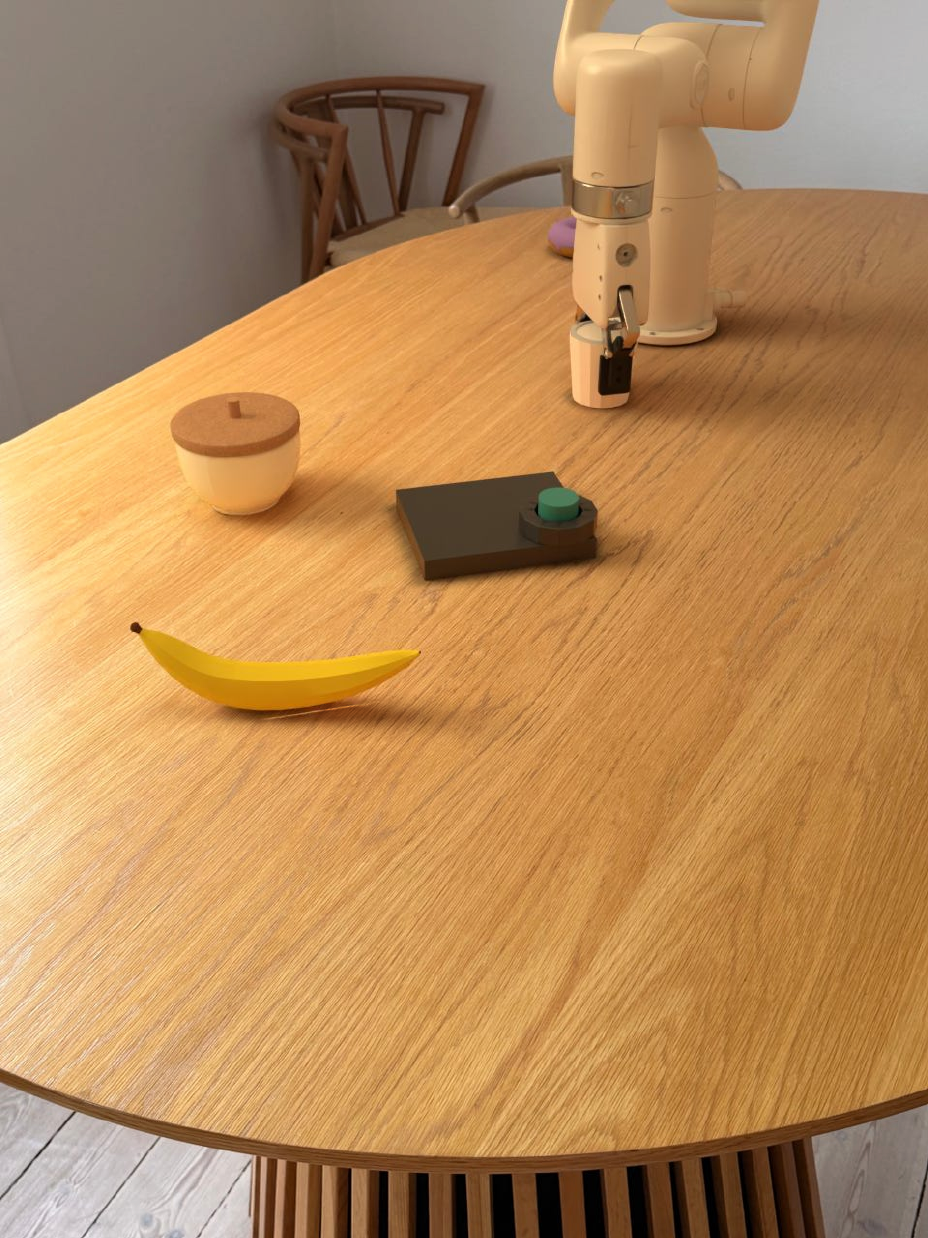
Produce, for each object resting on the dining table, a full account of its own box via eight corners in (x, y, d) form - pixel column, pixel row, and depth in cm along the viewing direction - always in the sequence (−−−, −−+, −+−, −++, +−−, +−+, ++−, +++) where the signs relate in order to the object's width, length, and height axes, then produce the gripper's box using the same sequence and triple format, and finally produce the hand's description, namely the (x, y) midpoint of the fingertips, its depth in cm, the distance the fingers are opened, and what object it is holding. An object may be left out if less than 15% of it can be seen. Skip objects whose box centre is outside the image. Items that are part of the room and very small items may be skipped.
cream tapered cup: (634, 384, 126) (638, 319, 122) (635, 412, 120) (640, 344, 116) (567, 382, 127) (570, 317, 123) (565, 409, 121) (568, 342, 117)
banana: (420, 725, 80) (418, 646, 77) (138, 714, 81) (123, 636, 78) (425, 698, 83) (422, 620, 79) (151, 687, 84) (136, 611, 80)
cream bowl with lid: (326, 480, 109) (318, 382, 103) (273, 538, 100) (261, 434, 95) (220, 463, 112) (207, 367, 106) (159, 518, 103) (142, 416, 98)
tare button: (571, 502, 99) (572, 485, 98) (583, 521, 96) (584, 503, 95) (533, 506, 98) (533, 489, 97) (544, 525, 96) (545, 508, 95)
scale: (558, 489, 107) (560, 453, 105) (604, 561, 97) (607, 523, 95) (396, 508, 104) (394, 472, 102) (426, 585, 94) (425, 546, 92)
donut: (609, 262, 157) (604, 224, 155) (542, 269, 161) (536, 233, 159) (629, 240, 165) (624, 204, 163) (564, 247, 169) (558, 212, 166)
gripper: (685, 220, 106) (667, 409, 116) (619, 171, 120) (608, 343, 130) (603, 227, 105) (593, 417, 115) (546, 176, 119) (541, 350, 129)
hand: (601, 376), depth 122 cm, fingers closed on cream tapered cup, 6 cm apart
